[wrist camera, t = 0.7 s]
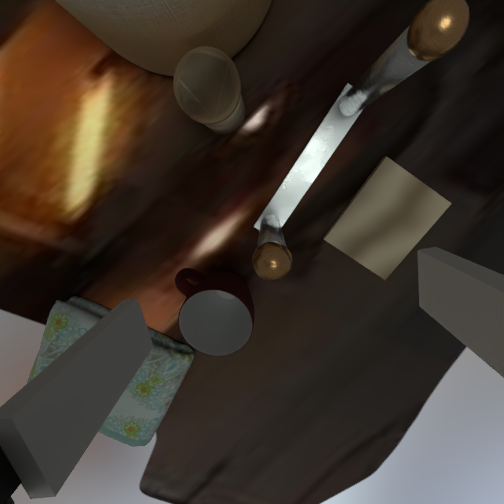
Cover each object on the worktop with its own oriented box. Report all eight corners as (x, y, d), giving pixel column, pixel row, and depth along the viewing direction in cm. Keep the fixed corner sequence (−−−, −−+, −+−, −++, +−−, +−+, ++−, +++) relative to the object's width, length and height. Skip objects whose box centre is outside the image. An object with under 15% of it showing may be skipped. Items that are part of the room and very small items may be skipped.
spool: (190, 119, 32) (161, 98, 23) (214, 72, 30) (193, 30, 22) (231, 146, 32) (218, 136, 24) (257, 102, 31) (253, 73, 22)
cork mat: (322, 238, 35) (323, 239, 34) (383, 156, 32) (386, 156, 31) (382, 277, 36) (384, 280, 35) (447, 202, 33) (451, 203, 32)
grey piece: (254, 225, 35) (241, 273, 18) (344, 86, 30) (453, -39, 13) (273, 237, 35) (278, 297, 18) (365, 102, 30) (499, 1, 13)
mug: (176, 288, 38) (145, 326, 29) (198, 240, 36) (173, 264, 26) (241, 320, 39) (232, 368, 29) (267, 275, 37) (267, 311, 27)
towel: (70, 287, 40) (42, 303, 35) (199, 346, 41) (189, 369, 36) (41, 375, 44) (13, 400, 40) (158, 425, 46) (145, 455, 41)
